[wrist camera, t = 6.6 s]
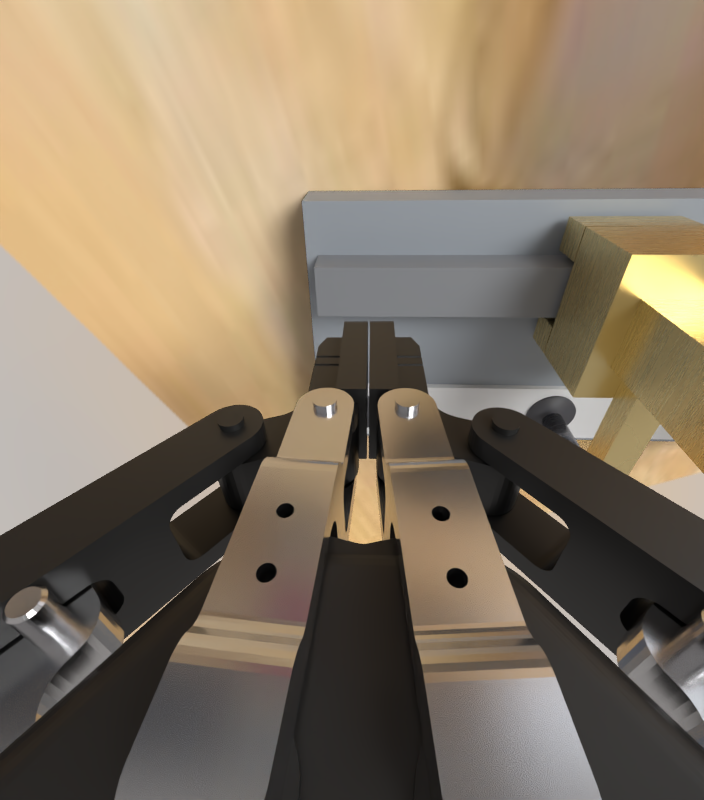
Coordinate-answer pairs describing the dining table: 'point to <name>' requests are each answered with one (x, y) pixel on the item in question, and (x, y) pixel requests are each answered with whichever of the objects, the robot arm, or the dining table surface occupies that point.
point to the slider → (632, 332)
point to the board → (470, 234)
